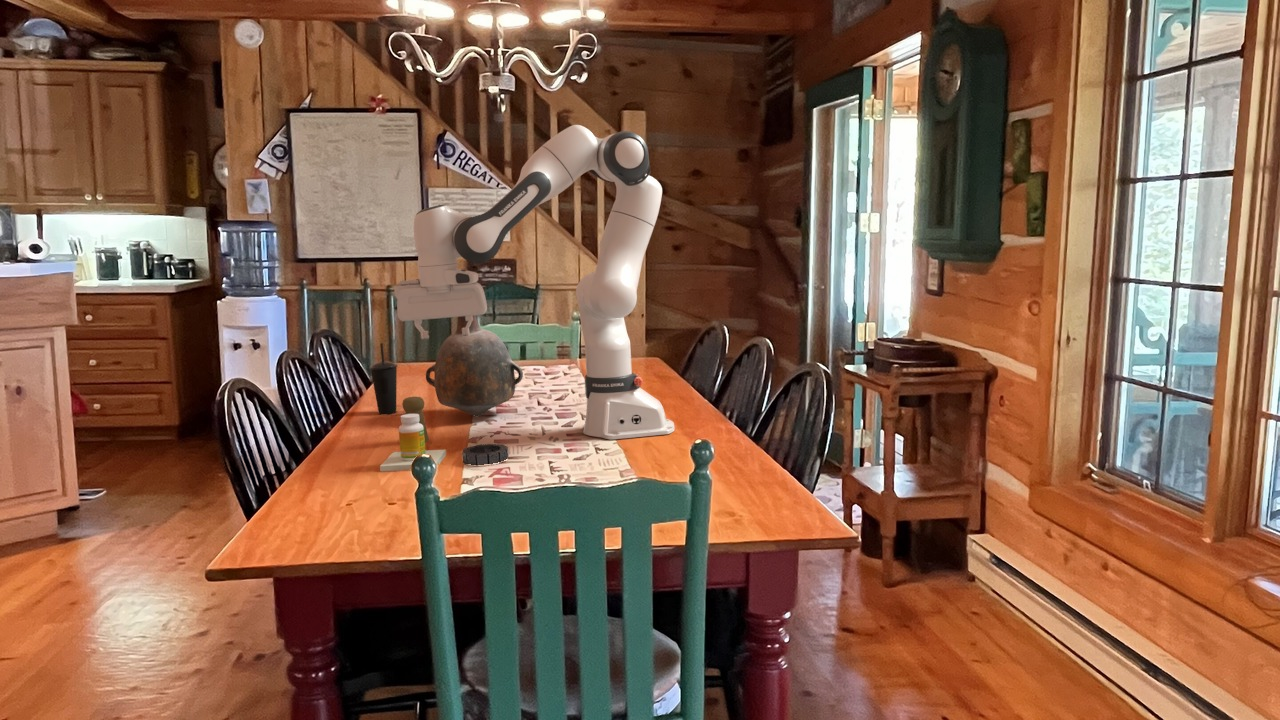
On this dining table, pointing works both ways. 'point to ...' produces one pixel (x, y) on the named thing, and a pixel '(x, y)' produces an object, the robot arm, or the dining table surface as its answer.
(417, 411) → the brown pawn
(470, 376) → the jug
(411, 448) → the supplement bottle
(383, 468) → the board
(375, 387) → the drinking cup
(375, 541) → the dining table surface
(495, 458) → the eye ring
